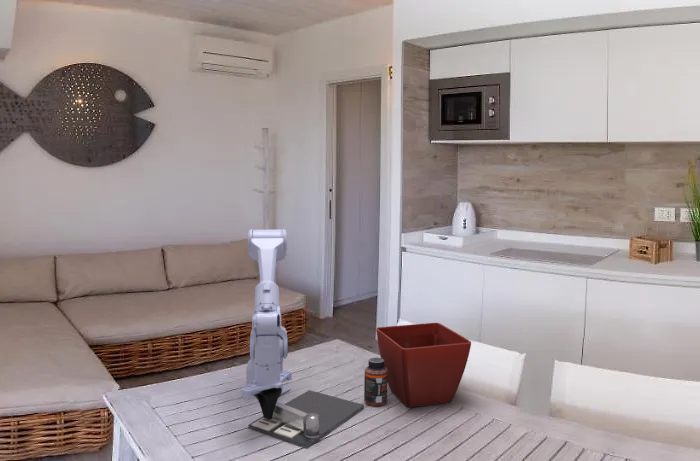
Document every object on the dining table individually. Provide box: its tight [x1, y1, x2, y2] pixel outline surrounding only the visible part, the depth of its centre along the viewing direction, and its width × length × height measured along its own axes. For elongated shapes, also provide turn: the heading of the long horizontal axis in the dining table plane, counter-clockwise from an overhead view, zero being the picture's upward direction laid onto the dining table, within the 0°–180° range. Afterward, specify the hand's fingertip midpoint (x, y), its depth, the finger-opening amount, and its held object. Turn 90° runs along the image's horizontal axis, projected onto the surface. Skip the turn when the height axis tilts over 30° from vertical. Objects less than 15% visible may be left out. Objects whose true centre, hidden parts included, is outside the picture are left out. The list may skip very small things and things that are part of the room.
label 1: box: [252, 418, 283, 431], centre depth 137 cm, size 5×5×1 cm
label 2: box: [274, 424, 304, 438], centre depth 134 cm, size 5×5×1 cm
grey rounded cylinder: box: [304, 413, 321, 439], centre depth 132 cm, size 4×4×4 cm
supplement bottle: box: [363, 357, 388, 407], centre depth 151 cm, size 6×6×11 cm
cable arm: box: [273, 401, 307, 430], centre depth 137 cm, size 14×3×4 cm, turn 50°
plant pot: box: [375, 322, 472, 408], centre depth 155 cm, size 19×19×17 cm
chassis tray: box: [247, 389, 365, 449], centre depth 142 cm, size 17×24×1 cm
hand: (267, 418), depth 138 cm, fingers closed
